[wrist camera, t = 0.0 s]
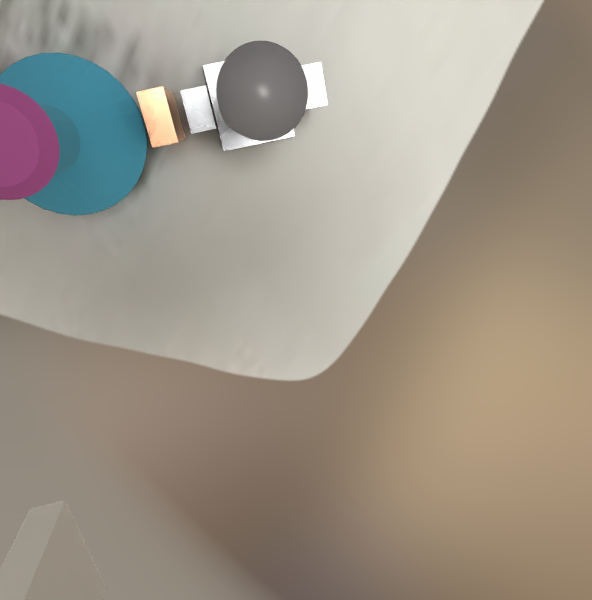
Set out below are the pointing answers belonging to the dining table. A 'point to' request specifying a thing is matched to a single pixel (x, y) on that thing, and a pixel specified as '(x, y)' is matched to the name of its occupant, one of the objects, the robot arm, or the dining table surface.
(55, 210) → the perfume bottle
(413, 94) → the dining table surface
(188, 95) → the clip rack
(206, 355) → the dining table surface
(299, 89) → the canister
